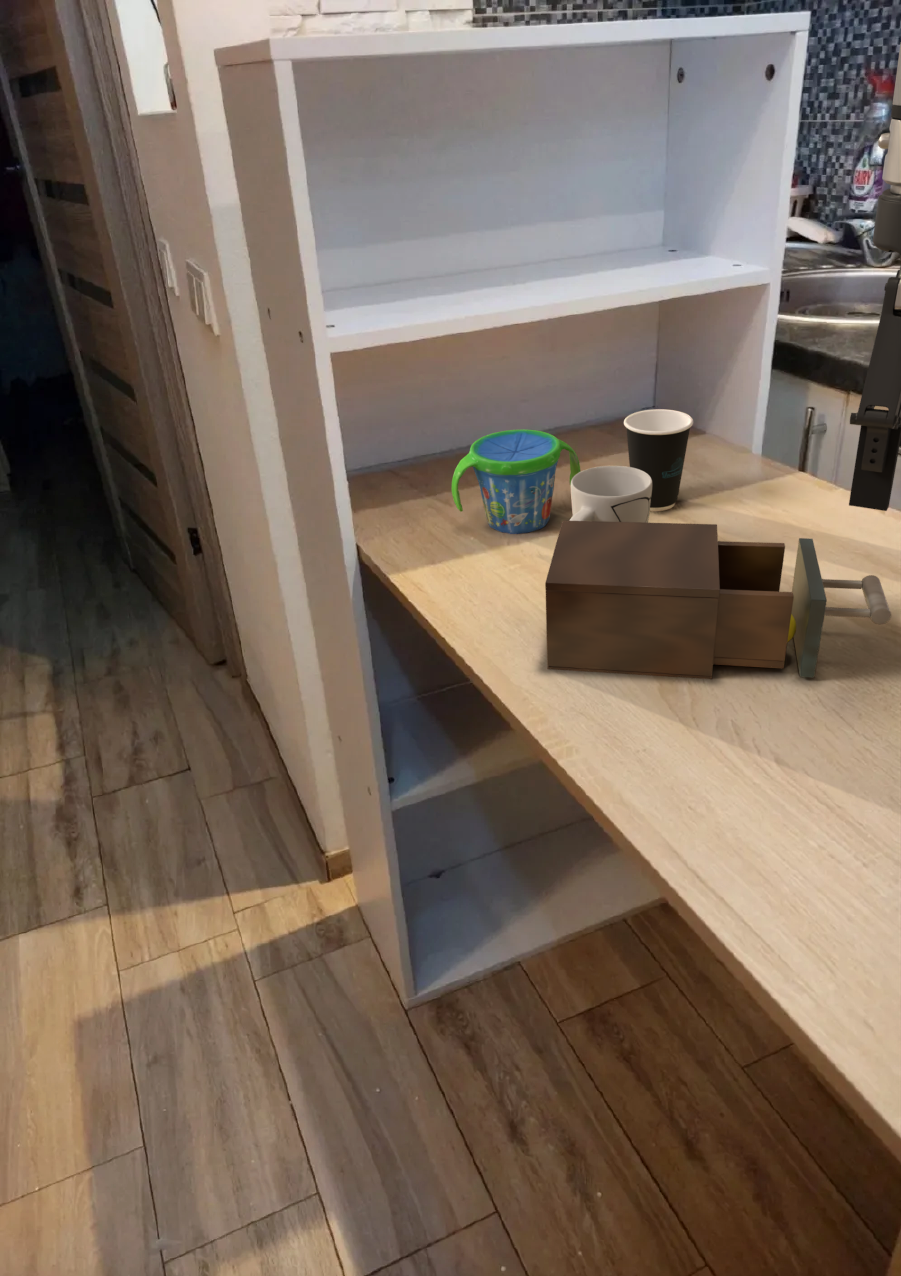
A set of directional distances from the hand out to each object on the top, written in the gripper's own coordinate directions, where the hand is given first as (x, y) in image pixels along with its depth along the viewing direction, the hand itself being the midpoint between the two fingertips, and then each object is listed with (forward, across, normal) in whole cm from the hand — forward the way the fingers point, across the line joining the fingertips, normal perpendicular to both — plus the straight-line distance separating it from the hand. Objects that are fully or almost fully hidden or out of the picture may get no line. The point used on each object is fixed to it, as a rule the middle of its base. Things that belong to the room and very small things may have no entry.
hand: (888, 474), depth 75 cm
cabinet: (+17, +7, -19) cm, 27 cm away
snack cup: (+17, -11, -42) cm, 47 cm away
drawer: (+16, +3, -8) cm, 18 cm away
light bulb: (+14, +4, -8) cm, 17 cm away
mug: (+17, -5, -28) cm, 33 cm away
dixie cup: (+17, -22, -29) cm, 40 cm away
